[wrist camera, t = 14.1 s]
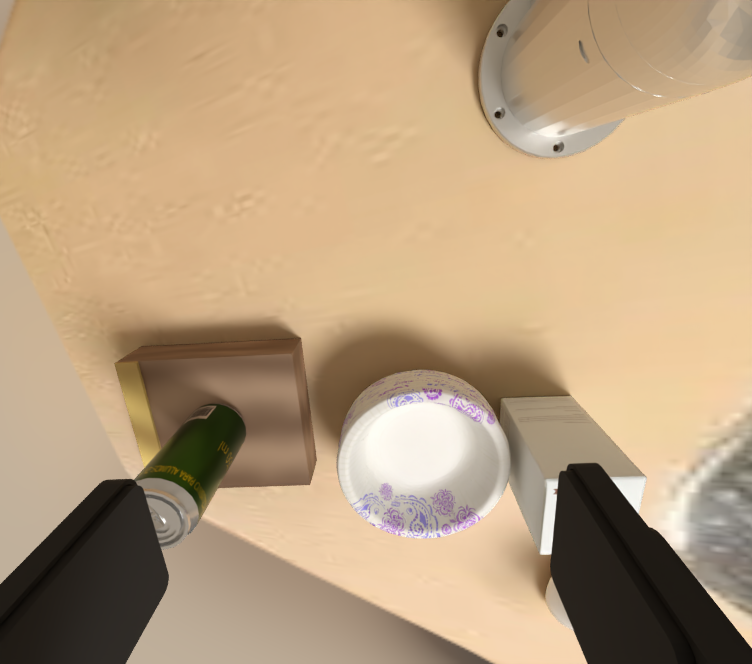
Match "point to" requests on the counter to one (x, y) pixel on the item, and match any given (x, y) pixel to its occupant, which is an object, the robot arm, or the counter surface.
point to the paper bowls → (422, 455)
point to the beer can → (191, 470)
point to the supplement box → (557, 457)
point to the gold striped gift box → (232, 387)
